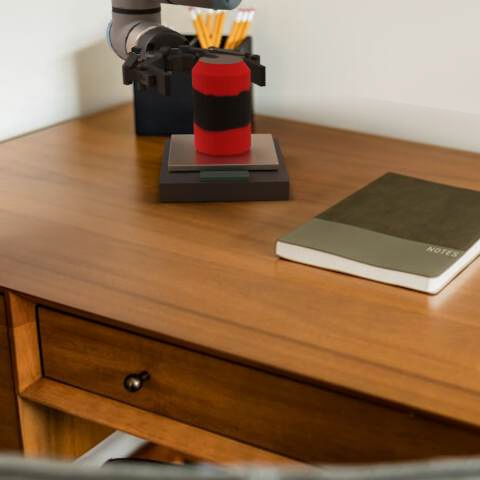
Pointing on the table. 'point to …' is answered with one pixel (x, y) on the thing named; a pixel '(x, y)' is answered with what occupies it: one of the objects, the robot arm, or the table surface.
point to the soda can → (221, 105)
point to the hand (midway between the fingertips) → (217, 81)
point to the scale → (223, 183)
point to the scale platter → (193, 160)
